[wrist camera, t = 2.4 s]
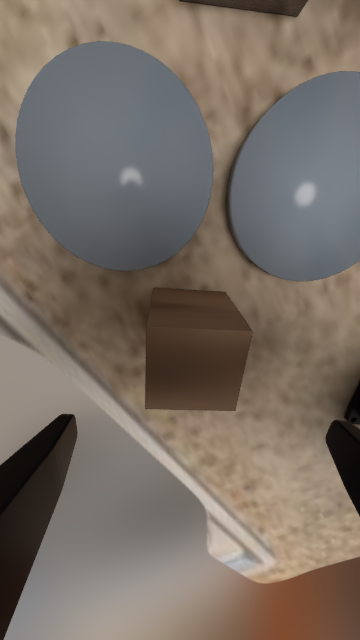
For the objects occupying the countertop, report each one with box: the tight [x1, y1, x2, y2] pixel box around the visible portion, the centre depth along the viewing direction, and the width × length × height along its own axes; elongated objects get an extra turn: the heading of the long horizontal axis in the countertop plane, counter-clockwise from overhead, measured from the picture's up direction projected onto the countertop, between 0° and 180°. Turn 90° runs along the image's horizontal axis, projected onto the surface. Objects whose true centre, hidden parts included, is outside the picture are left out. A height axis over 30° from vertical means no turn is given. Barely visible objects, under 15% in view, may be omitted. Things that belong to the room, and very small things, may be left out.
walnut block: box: [145, 288, 253, 411], centre depth 13 cm, size 4×4×6 cm
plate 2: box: [227, 71, 360, 281], centre depth 12 cm, size 9×9×1 cm
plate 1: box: [16, 41, 213, 271], centre depth 12 cm, size 9×9×1 cm
